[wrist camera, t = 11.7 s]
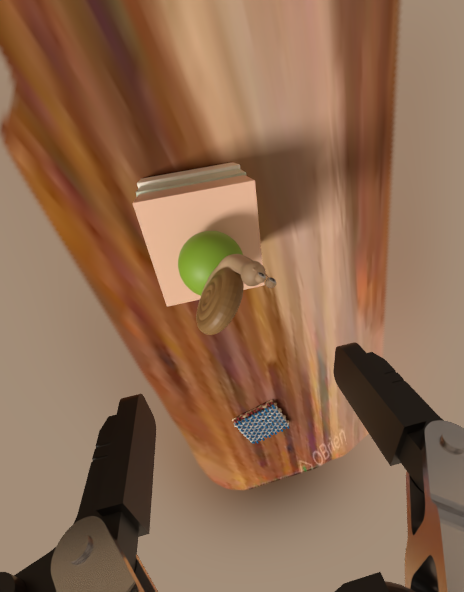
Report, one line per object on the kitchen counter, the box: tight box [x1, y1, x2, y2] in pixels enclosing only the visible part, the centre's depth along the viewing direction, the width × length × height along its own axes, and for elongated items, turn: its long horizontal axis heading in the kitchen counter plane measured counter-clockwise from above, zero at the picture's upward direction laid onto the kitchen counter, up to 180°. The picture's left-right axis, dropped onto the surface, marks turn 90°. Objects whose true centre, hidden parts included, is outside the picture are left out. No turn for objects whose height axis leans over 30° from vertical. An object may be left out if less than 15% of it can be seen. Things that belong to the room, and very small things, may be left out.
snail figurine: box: [178, 231, 276, 335], centre depth 19 cm, size 5×6×12 cm
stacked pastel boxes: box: [133, 162, 264, 306], centre depth 29 cm, size 11×11×12 cm
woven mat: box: [232, 400, 289, 443], centre depth 58 cm, size 10×11×2 cm
